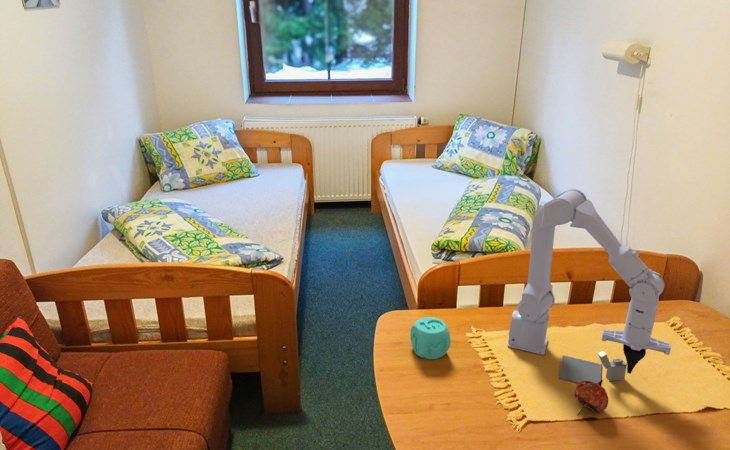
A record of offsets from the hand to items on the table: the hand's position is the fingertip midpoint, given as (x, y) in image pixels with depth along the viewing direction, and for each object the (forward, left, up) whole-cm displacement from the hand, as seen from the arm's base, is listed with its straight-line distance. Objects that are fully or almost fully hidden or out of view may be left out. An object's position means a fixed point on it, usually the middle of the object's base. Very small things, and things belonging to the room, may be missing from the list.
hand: (628, 371), depth 133 cm
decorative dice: (-48, -7, -4) cm, 48 cm away
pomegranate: (-8, -14, -4) cm, 16 cm away
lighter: (-4, 0, -4) cm, 5 cm away
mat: (-11, 0, -4) cm, 11 cm away
